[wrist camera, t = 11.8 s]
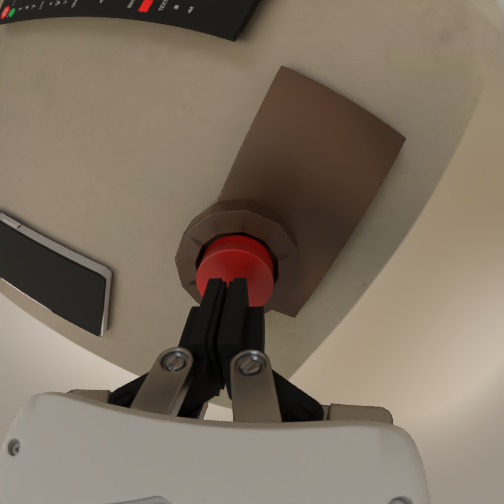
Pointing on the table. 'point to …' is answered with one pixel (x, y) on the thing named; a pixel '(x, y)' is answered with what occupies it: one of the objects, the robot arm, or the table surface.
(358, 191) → the switch block
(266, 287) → the light button
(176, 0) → the remote control
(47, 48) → the table surface
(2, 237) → the smartphone
